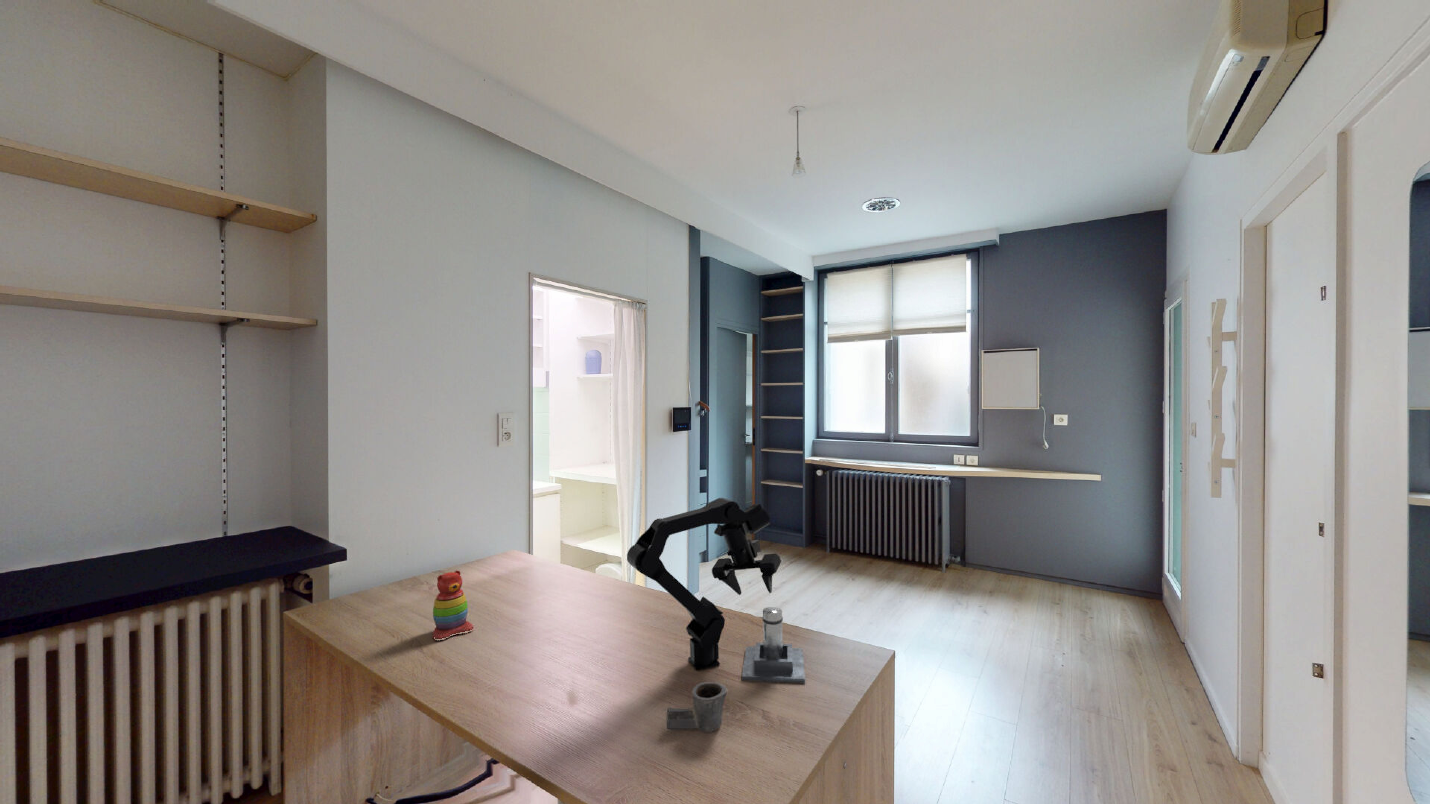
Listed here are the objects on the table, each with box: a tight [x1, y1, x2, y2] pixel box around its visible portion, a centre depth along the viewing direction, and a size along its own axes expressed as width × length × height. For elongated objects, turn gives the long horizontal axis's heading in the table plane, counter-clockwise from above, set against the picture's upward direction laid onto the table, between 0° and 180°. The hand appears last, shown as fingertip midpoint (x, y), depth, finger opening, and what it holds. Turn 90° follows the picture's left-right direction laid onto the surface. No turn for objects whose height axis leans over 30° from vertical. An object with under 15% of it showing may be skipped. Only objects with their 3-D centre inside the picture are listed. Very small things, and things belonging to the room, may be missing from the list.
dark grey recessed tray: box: [741, 642, 806, 684], centre depth 132 cm, size 15×15×4 cm
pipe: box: [665, 681, 728, 733], centre depth 108 cm, size 6×13×8 cm, turn 95°
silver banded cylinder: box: [761, 606, 784, 659], centre depth 132 cm, size 5×5×13 cm
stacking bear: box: [432, 570, 474, 639], centre depth 157 cm, size 11×10×18 cm
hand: (755, 593), depth 142 cm, fingers open, 9 cm apart
